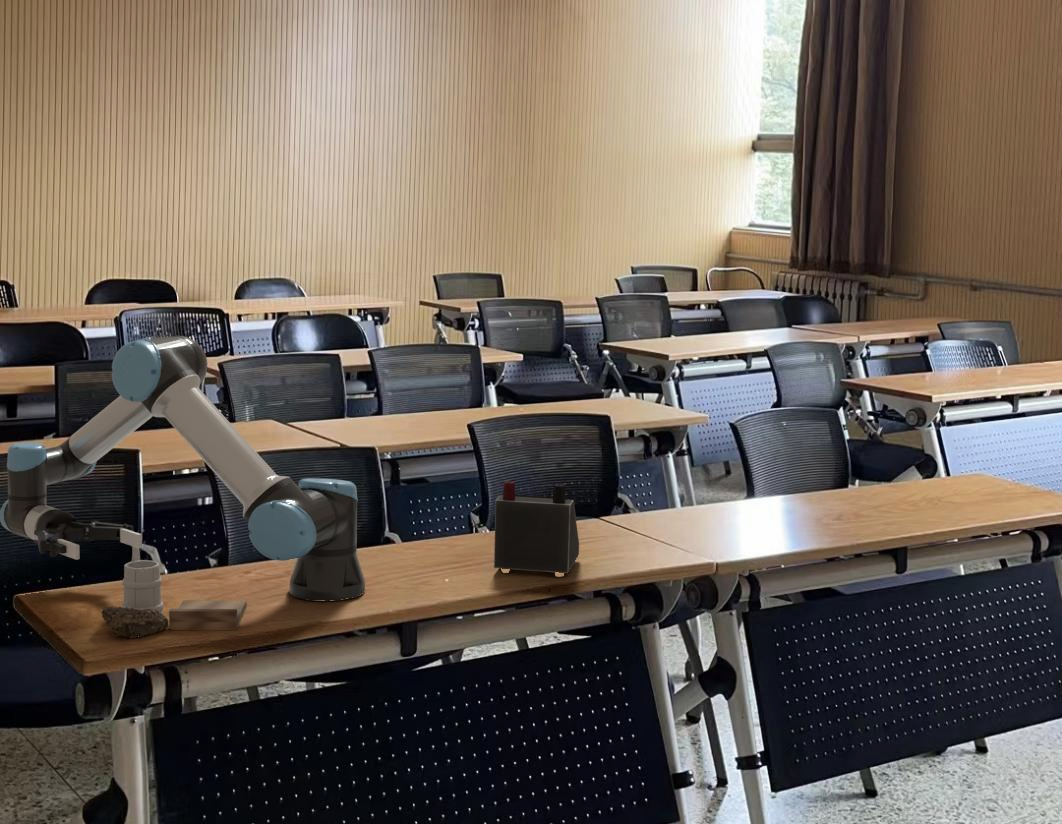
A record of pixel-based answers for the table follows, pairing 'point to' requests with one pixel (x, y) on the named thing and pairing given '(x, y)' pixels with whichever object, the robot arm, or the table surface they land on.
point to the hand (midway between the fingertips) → (109, 546)
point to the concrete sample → (134, 621)
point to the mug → (142, 584)
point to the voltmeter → (535, 531)
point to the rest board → (207, 615)
